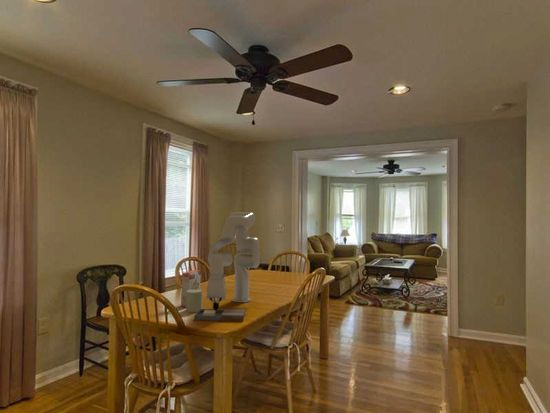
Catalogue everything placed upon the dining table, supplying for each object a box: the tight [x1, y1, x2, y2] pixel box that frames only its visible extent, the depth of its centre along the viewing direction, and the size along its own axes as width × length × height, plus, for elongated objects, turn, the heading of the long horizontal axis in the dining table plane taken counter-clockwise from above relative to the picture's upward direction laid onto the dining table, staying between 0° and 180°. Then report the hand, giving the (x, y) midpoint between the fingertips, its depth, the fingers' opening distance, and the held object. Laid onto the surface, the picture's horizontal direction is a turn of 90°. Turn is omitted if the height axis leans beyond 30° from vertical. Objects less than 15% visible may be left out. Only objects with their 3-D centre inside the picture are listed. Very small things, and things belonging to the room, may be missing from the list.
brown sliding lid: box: [220, 307, 246, 322], centre depth 191 cm, size 14×12×3 cm
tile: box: [203, 310, 216, 316], centre depth 191 cm, size 6×6×2 cm
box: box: [193, 308, 225, 322], centre depth 191 cm, size 14×14×2 cm
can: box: [185, 288, 203, 313], centre depth 205 cm, size 9×9×12 cm
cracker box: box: [180, 269, 202, 308], centre depth 218 cm, size 14×6×21 cm, turn 163°
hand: (215, 309), depth 191 cm, fingers closed
